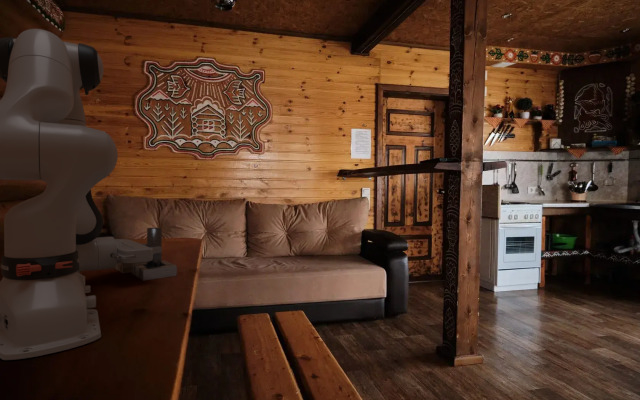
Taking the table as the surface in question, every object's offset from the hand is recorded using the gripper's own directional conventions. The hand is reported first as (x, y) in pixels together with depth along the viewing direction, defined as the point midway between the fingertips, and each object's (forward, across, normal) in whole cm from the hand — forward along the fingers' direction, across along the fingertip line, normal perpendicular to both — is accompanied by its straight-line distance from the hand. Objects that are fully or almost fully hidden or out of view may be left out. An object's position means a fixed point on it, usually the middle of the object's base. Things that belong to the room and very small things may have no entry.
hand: (157, 247), depth 115 cm
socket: (-1, 0, +8) cm, 8 cm away
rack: (-3, +12, +8) cm, 15 cm away
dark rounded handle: (-1, 0, +8) cm, 8 cm away
